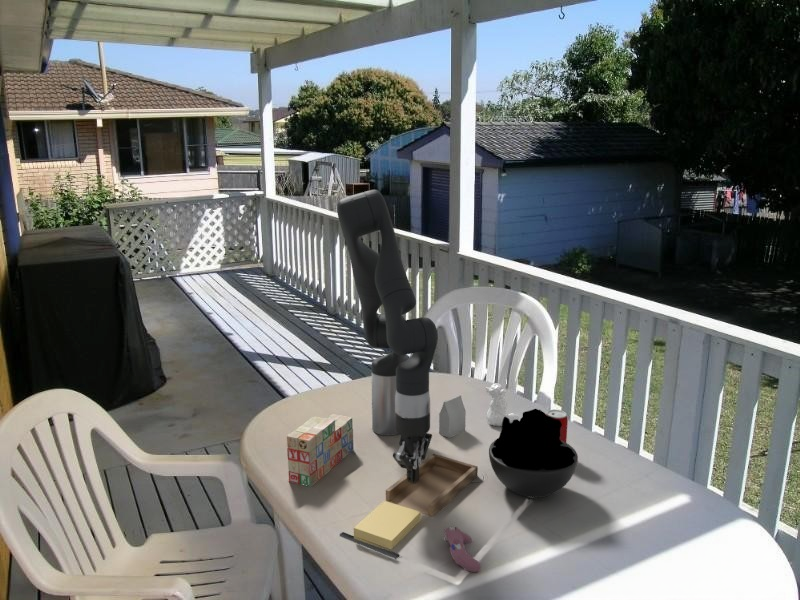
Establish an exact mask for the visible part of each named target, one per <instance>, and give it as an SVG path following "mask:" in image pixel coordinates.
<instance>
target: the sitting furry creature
mask: <svg viewBox="0 0 800 600" xmlns="http://www.w3.org/2000/svg"><path fill="white" fill-rule="evenodd" d="M485 390H486V392H487V393H489V394H488V395H489V396H490V397H491V398H492V399H491V401H490V402H489V408H488V410H487V413H486V421H487V423H488V424H489V425H490V426H492V425H493V427H500V426H501V427H502V421H503V418H504V417H507V418H509V421H510V423H512V422H513V420H516V419H517V420H519V421H520V416H519V415H518V414H515V413H513V412H511V413H509V414H507V408H508V403H506V400H505V396H506V392H507V391H505V388H504V387H503V386H502V384H501V383H493V384H491V386H485Z"/></svg>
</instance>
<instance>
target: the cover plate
mask: <svg viewBox="0 0 800 600" xmlns="http://www.w3.org/2000/svg"><path fill="white" fill-rule="evenodd" d="M421 514H422V513H421V512H419V511H416V510H413V509H410V508H407V507H403V506H401V505H398V504H395V503H392V502H389V501H387V500H383V501H382V502H381V503H380V504H379V505H378V506H377V507H376V508H374V509H373V510H372V511H371V512H370V513H368V514H367V515H366V516H365V517H364V518H363V519H362V520H361V521H360V522H358V524H356V525H355V526H354V527H353V536H354V539H357V540H359V541H362V542H365V543H368V544H371V545H374V546H376V547H379V548H382V549H385V550H388V549H390V550H388V551H391V550H393V549H394V548H395V546H397V545H398V544H399V543H400V542H401V540H402V539H403V538H404V537H406V535H408V534H409V533H410V531H411V530H412V529H414V527H415V526H417V525H418V523H419V522H420V521H421V520H422V519H421V516H422V515H421ZM391 552H393V551H391Z"/></svg>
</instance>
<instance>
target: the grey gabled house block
mask: <svg viewBox="0 0 800 600" xmlns="http://www.w3.org/2000/svg"><path fill="white" fill-rule="evenodd" d="M466 413H467V411H466V408H465V405H464V403H463V398H462V395H457V396H455V397H452V398H450V399H448V400H445V401H443V404H442V406H441V409H440V411H439V414H438V415H439V418H438V419H439V420H438V423H439V424H438V425H439V426H438V434H439V435H441V436H443V437H446V438H448V439H450V438H451V437H454V436H456V435H459V434H461V433H462V432H465V431H466V415H467V414H466Z"/></svg>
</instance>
